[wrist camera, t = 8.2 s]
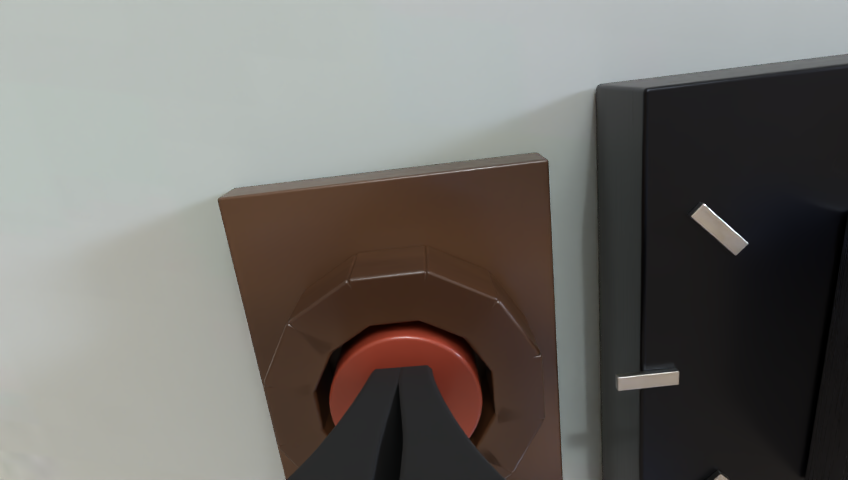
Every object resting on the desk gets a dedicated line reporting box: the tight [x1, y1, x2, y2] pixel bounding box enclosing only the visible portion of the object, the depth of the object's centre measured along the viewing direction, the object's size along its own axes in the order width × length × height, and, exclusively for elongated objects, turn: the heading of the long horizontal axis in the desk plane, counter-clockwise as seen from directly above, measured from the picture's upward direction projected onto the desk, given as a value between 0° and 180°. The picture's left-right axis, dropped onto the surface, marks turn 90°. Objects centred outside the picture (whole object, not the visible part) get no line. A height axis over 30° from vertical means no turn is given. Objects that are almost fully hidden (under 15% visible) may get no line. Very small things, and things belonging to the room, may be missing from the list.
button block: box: [218, 153, 563, 480], centre depth 14 cm, size 10×8×3 cm
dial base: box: [597, 54, 848, 480], centre depth 13 cm, size 13×11×3 cm
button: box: [329, 321, 483, 438], centre depth 13 cm, size 4×4×2 cm
